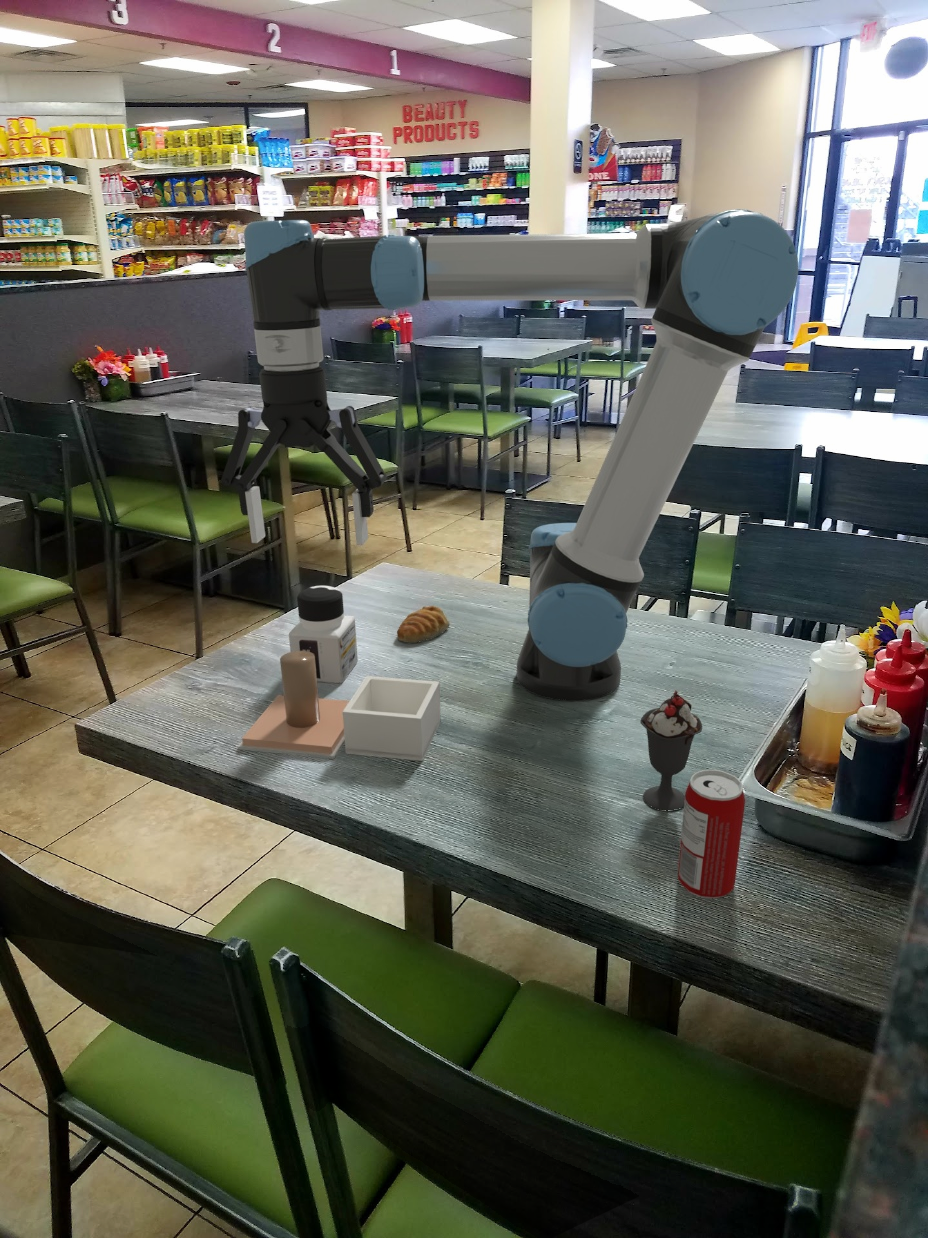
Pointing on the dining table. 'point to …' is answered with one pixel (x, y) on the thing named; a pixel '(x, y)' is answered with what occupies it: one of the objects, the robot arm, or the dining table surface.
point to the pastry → (423, 625)
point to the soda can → (711, 833)
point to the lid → (299, 712)
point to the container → (325, 633)
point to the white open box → (392, 718)
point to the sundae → (669, 748)
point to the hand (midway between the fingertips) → (310, 541)
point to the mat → (294, 752)
